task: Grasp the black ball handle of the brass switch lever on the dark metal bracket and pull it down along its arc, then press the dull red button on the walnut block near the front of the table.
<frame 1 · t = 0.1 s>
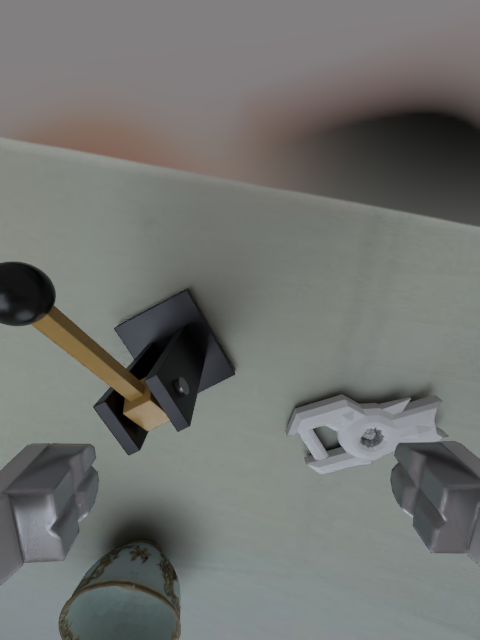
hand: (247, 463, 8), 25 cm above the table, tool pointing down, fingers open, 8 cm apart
lever: (94, 358, 18), point 14 cm above the table, hinge at 25.0°
bracket: (178, 348, 33), on the table
bowl: (141, 554, 40), on the table
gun: (358, 420, 36), on the table
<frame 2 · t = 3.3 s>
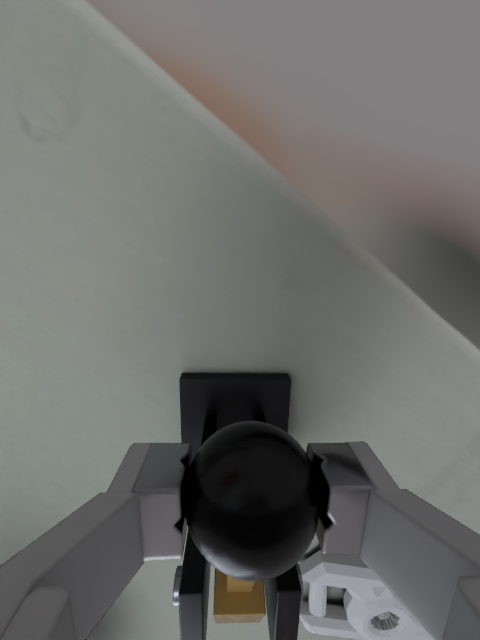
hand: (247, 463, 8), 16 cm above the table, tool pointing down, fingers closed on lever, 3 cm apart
lever: (242, 551, 10), point 14 cm above the table, hinge at 25.0°, touching gripper
bracket: (234, 430, 25), on the table
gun: (371, 584, 31), on the table
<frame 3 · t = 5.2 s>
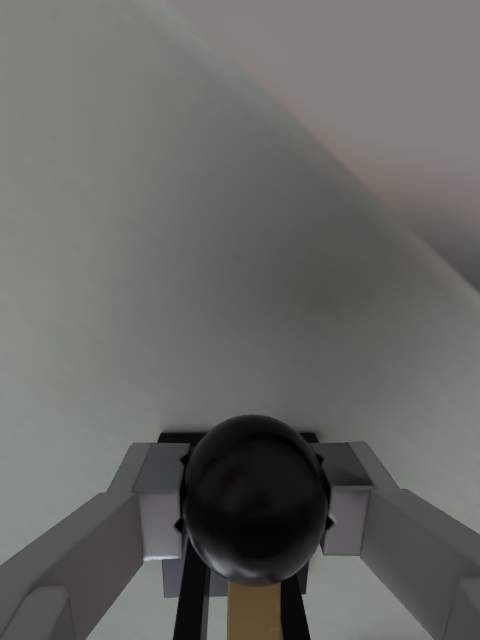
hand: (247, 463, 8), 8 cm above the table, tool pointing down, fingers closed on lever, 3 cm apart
bracket: (236, 509, 18), on the table
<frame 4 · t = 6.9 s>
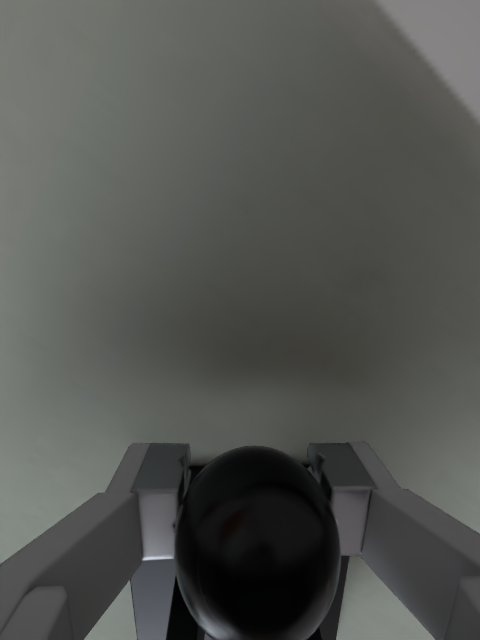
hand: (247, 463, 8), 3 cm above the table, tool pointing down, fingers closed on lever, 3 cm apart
bracket: (238, 563, 13), on the table
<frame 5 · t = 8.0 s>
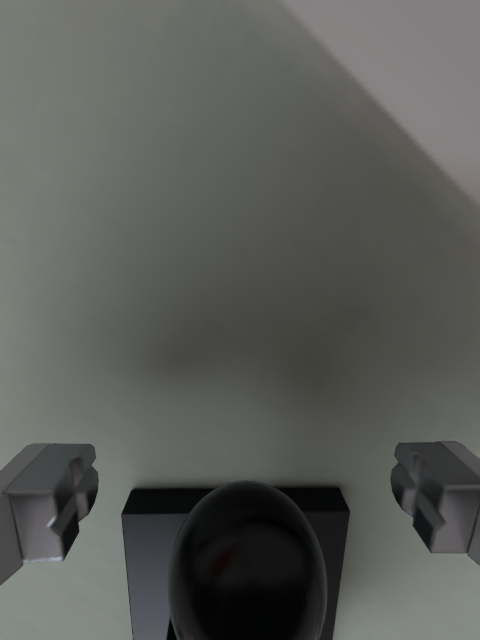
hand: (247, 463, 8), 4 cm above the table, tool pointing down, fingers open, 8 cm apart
bracket: (234, 584, 14), on the table
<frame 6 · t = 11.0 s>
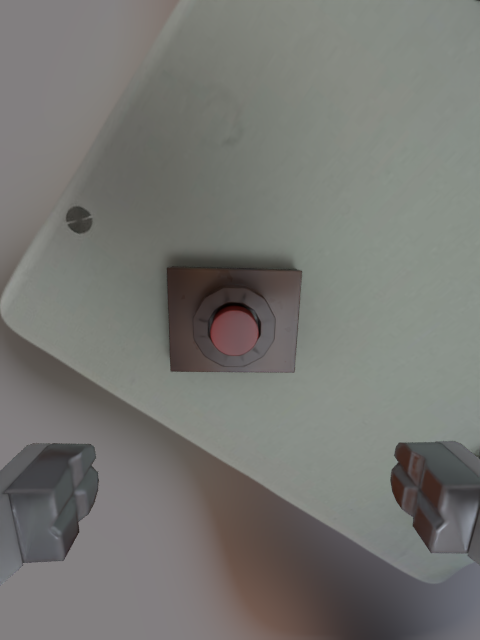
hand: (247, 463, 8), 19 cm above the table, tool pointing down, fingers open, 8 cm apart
button: (234, 330, 22), point 4 cm above the table, slide at 0.1 cm
button block: (233, 317, 26), on the table
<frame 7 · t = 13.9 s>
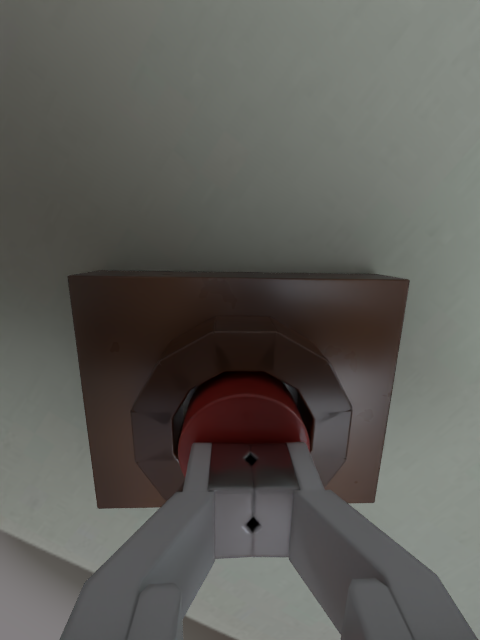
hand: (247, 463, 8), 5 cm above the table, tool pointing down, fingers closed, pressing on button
button: (243, 434, 9), point 4 cm above the table, slide at -0.5 cm, touching gripper
button block: (238, 377, 12), on the table
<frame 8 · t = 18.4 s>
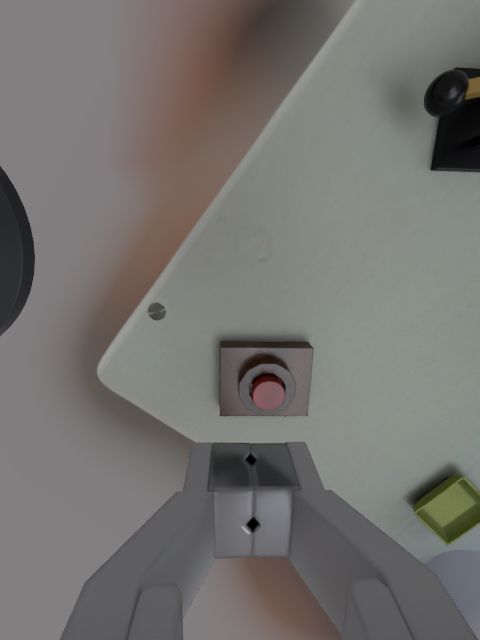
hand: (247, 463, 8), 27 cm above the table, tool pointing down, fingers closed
button: (268, 392, 32), point 4 cm above the table, slide at 0.1 cm
button block: (263, 375, 37), on the table
green square tray: (444, 499, 43), on the table
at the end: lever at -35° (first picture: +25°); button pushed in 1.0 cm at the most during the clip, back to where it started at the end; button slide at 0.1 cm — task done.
